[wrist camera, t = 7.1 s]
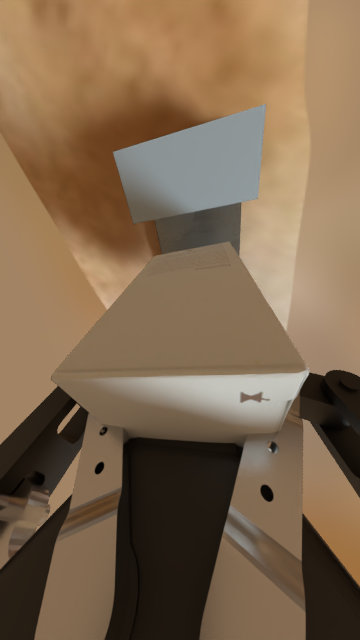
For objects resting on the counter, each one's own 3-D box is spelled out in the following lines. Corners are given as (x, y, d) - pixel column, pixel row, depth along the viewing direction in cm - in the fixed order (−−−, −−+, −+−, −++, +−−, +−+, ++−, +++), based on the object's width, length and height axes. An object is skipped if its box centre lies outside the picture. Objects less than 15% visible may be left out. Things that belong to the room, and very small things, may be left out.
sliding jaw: (142, 169, 15) (112, 151, 10) (243, 141, 13) (265, 103, 8) (153, 218, 17) (133, 223, 12) (241, 201, 15) (257, 198, 11)
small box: (154, 253, 12) (33, 374, 4) (231, 239, 11) (325, 369, 2) (176, 333, 16) (146, 470, 8) (232, 329, 15) (266, 485, 7)
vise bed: (146, 160, 16) (107, 129, 10) (240, 133, 14) (268, 73, 8) (182, 333, 29) (175, 370, 22) (234, 331, 27) (243, 370, 21)
